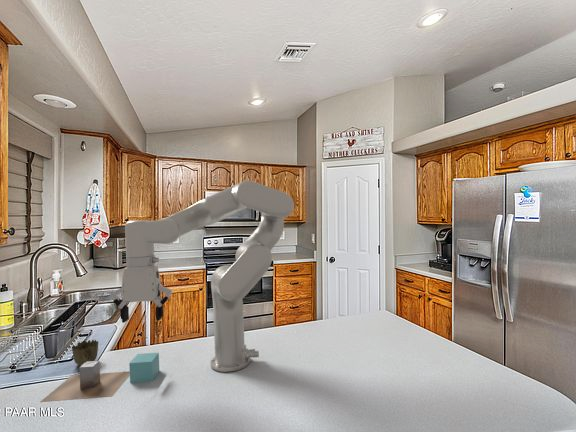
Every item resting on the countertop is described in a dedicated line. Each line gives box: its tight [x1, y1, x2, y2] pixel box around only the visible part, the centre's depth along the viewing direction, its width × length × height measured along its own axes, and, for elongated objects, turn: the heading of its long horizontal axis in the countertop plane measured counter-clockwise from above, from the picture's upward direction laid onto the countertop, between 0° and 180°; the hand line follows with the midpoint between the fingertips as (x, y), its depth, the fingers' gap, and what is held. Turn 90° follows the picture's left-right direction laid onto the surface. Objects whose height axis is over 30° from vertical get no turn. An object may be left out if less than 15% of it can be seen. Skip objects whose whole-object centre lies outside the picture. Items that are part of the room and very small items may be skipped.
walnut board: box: [39, 370, 130, 403], centre depth 92 cm, size 18×14×2 cm
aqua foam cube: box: [128, 352, 160, 383], centre depth 96 cm, size 6×6×7 cm
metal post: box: [78, 360, 101, 389], centre depth 92 cm, size 4×4×6 cm
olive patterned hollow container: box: [71, 339, 99, 366], centre depth 107 cm, size 8×7×8 cm
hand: (142, 320), depth 96 cm, fingers open, 9 cm apart
